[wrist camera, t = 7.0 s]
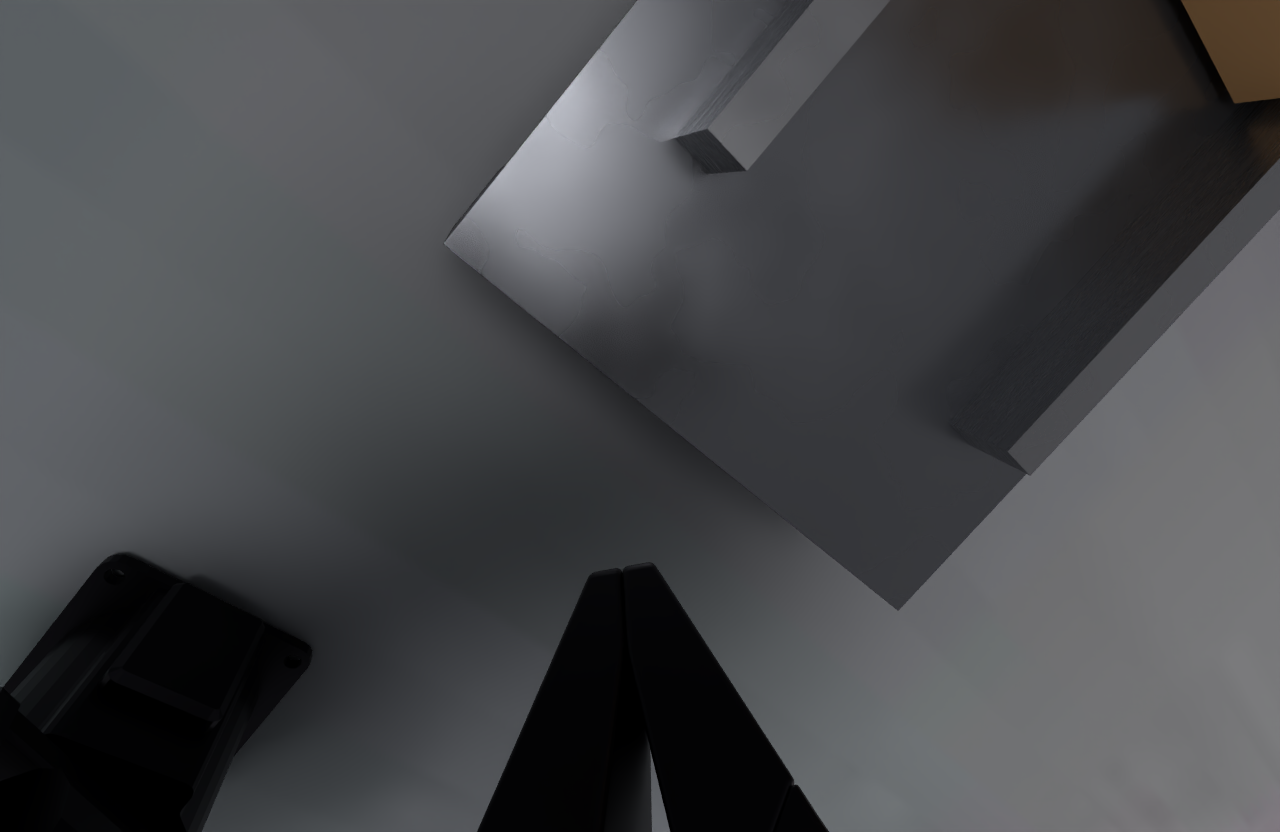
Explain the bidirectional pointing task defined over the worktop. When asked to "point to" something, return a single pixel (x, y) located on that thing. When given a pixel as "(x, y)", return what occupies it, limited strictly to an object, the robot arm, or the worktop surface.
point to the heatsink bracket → (878, 239)
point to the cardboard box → (1241, 44)
